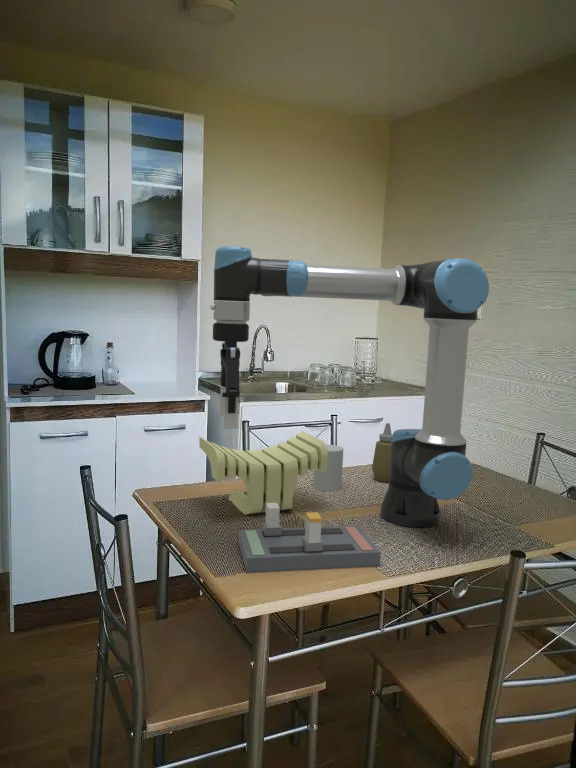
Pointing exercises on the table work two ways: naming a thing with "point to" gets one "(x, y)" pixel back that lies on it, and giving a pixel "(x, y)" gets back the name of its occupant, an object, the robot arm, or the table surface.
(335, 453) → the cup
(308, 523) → the handle
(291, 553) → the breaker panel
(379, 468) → the squeeze bottle
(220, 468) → the slatted curved stool
